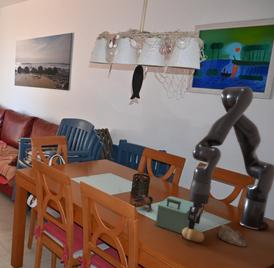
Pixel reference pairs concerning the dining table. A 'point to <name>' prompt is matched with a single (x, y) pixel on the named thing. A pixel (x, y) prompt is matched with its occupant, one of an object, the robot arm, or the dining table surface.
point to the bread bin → (172, 220)
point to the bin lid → (176, 205)
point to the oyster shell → (230, 236)
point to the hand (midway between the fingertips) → (193, 226)
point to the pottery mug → (148, 202)
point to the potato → (193, 234)
